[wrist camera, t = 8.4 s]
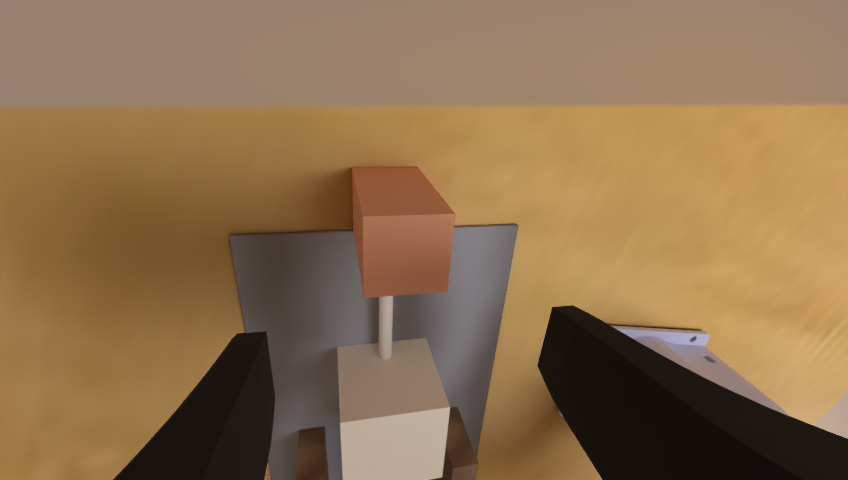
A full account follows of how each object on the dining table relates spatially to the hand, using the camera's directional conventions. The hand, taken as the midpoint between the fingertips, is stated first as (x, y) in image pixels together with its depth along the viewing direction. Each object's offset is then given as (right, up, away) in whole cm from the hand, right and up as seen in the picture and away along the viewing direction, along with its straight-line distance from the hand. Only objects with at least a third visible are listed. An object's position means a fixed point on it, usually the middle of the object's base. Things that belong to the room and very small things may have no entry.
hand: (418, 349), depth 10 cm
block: (-2, -1, +11) cm, 11 cm away
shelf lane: (-3, -8, +15) cm, 17 cm away
